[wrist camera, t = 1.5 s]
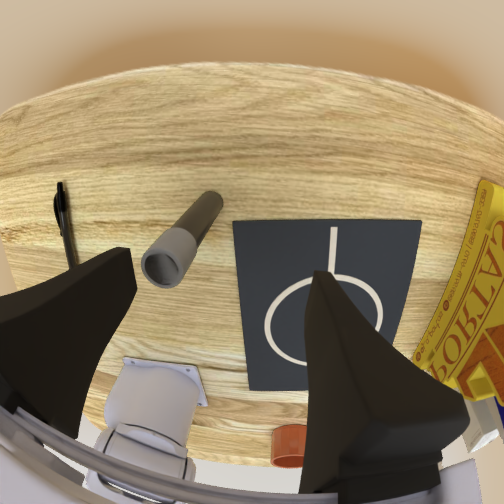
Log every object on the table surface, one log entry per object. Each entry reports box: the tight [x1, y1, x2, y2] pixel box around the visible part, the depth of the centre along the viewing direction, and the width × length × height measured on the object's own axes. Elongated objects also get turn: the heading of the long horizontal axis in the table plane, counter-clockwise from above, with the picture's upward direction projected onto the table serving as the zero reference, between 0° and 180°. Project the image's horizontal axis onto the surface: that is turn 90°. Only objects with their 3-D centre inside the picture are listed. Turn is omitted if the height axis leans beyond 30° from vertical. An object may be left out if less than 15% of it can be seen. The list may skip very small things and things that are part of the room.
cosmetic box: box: [452, 387, 499, 453], centre depth 21 cm, size 6×4×12 cm
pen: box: [53, 182, 77, 270], centre depth 23 cm, size 14×2×1 cm, turn 175°
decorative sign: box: [413, 180, 504, 407], centre depth 15 cm, size 20×3×15 cm, turn 176°
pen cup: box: [271, 425, 307, 468], centre depth 32 cm, size 6×6×5 cm
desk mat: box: [232, 219, 422, 391], centre depth 24 cm, size 15×20×1 cm
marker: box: [141, 191, 223, 288], centre depth 16 cm, size 2×2×10 cm
